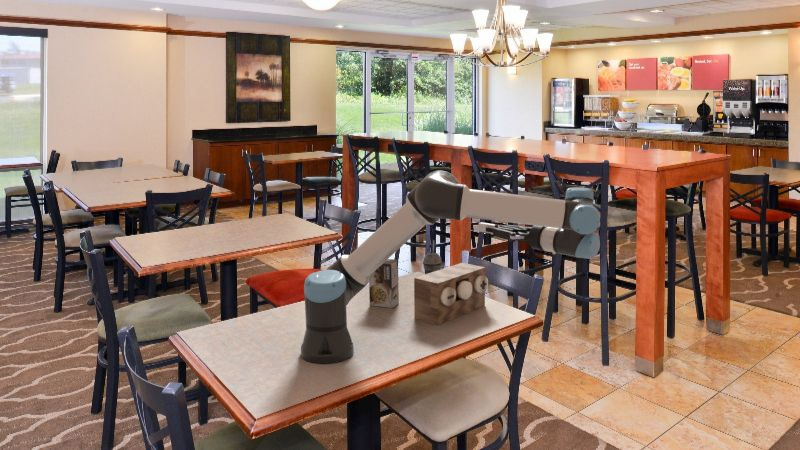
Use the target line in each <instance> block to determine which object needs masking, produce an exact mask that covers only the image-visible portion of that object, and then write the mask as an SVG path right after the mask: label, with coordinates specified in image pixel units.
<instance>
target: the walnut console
mask: <svg viewBox="0 0 800 450" xmlns="http://www.w3.org/2000/svg"><path fill="white" fill-rule="evenodd" d="M413 279H414V280H413V288H414V290H413V291H414V292H413V293H414V294H413V295H414V299H413V300H414V303H413V304H414V309H413V310H414V317H413V318H414V319H416V320H418V321H422V322H425V323H429V324H432V325H436V326H439V325H441V324H444V323H447V322H449V321H451V320H453V319H456V318H458V317H461V316H464V315H467V314H468V313H470V312H473V311H476V310H478V309H481V308H483V307H485V305H486V291H487V290H488V286H489V279H488V277H487V276H486V267H485V266H481V265H475V264H471V263H466V262H460V263H456V264H455V265H451V266H447V267H444V268H441V270H438V271H434V272H431V273H428V274H425V273H424V274H422V275H420V276H416V277H414V278H413ZM461 281H468V282H470V283H471V284H472V293H471V296H470V297H469V298H468V299H461V298H459V297H458V296H457V287H458V284H459V283H460V282H461Z"/></svg>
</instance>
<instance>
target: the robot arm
mask: <svg viewBox="0 0 800 450" xmlns="http://www.w3.org/2000/svg"><path fill="white" fill-rule="evenodd" d="M405 197H406V198H405V203H404V204H403V205H402V206H401V207H400V208H399V209H398V210H396V212H394V213H393V214H392V215H391V216H390V217H389V218H388V219H387V220H386V221H385V222H383V224H382V225H380V226H379V227H378V228H377V229H376V230H375V231H374V232H373V233H371V235H369V237H368V238H366V239H365V241H363V243H361V244H360V245H358V247H357V248H356V249H354V251H352V253H350V254H342V255H341V256H340V257H339V258H337V260H336V261H335V262H334V263H332V264H331V265H329V266H328V267H326V269H323V270H322V269H321V270H318V271H315V272H311V273H310V274H308V276H307V277H306V278H305V280H304V286H303V293H304V309H305V310H304V311H305V332H304V336H303V341H302V343H301V346H300V355H301V356H300V357H301V358H302V359H303V360H305V361H307V362H309V363H314V364H333V363H334V364H335V363H339V362H344V361H346V360H347V359H349V358H351V357H352V356H353V355H354V353H355V352H354V351H355V350H354V349H355V348H354V343H353V341H352V337H351V335H350V332H349V330H348V321H347V316H348V315H347V306H348V304H349V303H350V301H352V299H353V298H354V297H355V296H356V295H358V293H360V292H361V291H362V290H363V289H364V288H365V287H366V286H367V285H369V276H370V275H371V274H372V273H373V272H374V271H375V270H376V269H377V268H378V267H380V266H381V265H382V264H383V263H384V262H385V261H386V260H387V259H390V257H392V256H393V255H394V254H395V253H396V252H397V251H398V250H399V249H401V248H402V247H403V246H404V245H405V244H406V243H407V242H408V241H409V240H410V239H412V237H414V236H415V235H416V234H417V233H418V232H419V231H420V230H422V229H423V227H425V226H427V225H429V226H430V225H431V226H432V225H434V224H436V223H437V222H438V221H439V220H440V219H442V220H443V219H444V220H454V221H463V220H464V219H465V218H470V219H478V220H486V221H496V222H503V223H506V224H504V225H502V224H500V225H499V224H498V223H488V222H478V232H479V233H480V232H481V233H485V234H491V235H492V236H493V237H495V238H500V239H503V240H507V241H509V242H512V243H515V242H516V241H519V242H521V243H528V246H530V248H531V249H533V250H537V251H541V252H543V251H544V252H549V253H552V255H556V254H559V255H560V254H561V255H566V256H569V257H575V258H579V259H589V260H590V259H591V260H592V259H594V258H596V256H597V254H598V252H599V251H600V247H601V241H600V236H599V234H598V233H596V232H595V231H596V230H597V229H598V227H599V226H600V223H601V217H600V212H599V210H598V209H597V207H596V206H595V205H594V201H595V199H594V191H593V189H591V188H589V187H575V186H574V187H569V188H567V189H566V191H565V198H564V199H558V198H549V197H540V196H531V195H525V194H524V195H523V194H522V195H521V194H514V193H505V192H497V191H489V190H481V189H480V190H478V189H472V188H469V187H468V185H467V184H461V183H460V182H459V181H458V179H457V178H456V177H455V175H453V174H452V173H450V172H448V171H446V170H445V171H444V170H433V171H431V172H429V173H428V174H427V175H425V177H424V178H423V179H422V180H421V181H419V183H418V184H417V185H416V186H415V187H413V188H412V189H411V190H410V191H409V192H408V193H407V194H406V196H405ZM507 223H512V224H520V225H512V224H507ZM522 225H529V226H522Z"/></svg>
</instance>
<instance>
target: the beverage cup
mask: <svg viewBox="0 0 800 450" xmlns="http://www.w3.org/2000/svg"><path fill="white" fill-rule="evenodd" d="M422 260H423V262H422V264H423V268H424V275H425V274H428V273H431V272H434V271H438V270H441V269H442V267H443V265H442V264H443V261H442V257H441V256H440V254H438V252H435V240H434V239H432V251H430V252H427V253H426V254H425V255H424V257H423V259H422Z"/></svg>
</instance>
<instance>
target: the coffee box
mask: <svg viewBox="0 0 800 450" xmlns="http://www.w3.org/2000/svg"><path fill="white" fill-rule="evenodd" d="M368 286H369V287H368V288H369V289H368V291H369V295H368V296H369V306H372V307H379V308H380V307H381V308H388V309H389V308H390V309H392V308H394V307H395V306H397V305H398V304H399V303H400V301H399V300H400V297H399V260H398V259H391V258H388V259H387V260H386V261H385V262H384V263H383V264H382V265H381V266H380V267H378V268H377V269H376V270H375V271H374V272H373V273H372V274H371V275H370V276H369V283H368Z"/></svg>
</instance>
